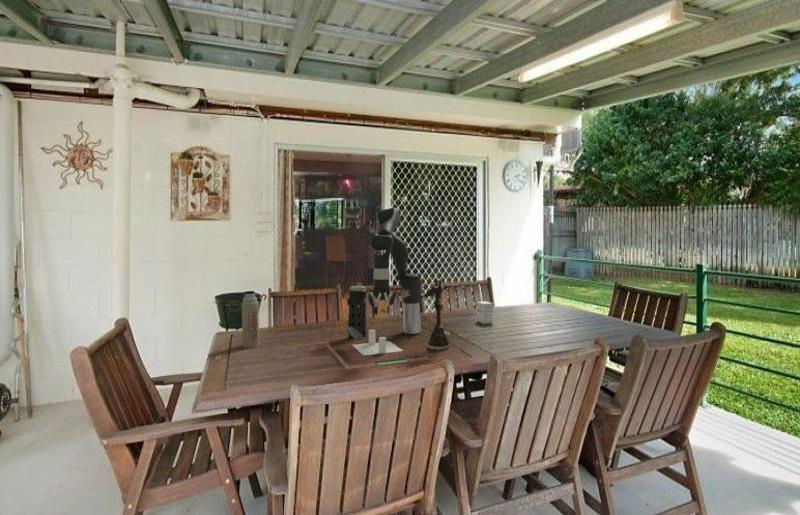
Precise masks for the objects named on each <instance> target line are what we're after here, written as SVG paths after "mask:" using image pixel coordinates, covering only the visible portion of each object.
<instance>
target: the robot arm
mask: <svg viewBox="0 0 800 515" xmlns="http://www.w3.org/2000/svg"><path fill="white" fill-rule="evenodd" d="M376 217H377V220H378V223H379V225H380V226H379V227H378V230H377V231H376V232H375V233H374V234H373V235H372V236H371V238H370V241H369V243H370V247H371V249H372V250H375V251H385V252H384V253H383V254H379V255H376V256H374V257H373V258H374V259H373V260H374V261H373V266H374V267H373V283H372V284H373V287H372V288H373V289H372V291H371V292H367V297H366V298H367V299H368V304H369V305H370V306H372V307H373V315H377V305H378V302H379V301H384V302H387V315H388V314H389V313H390V306H392V305H394V303H395V302H394V301H395V298H396V295H397V293H396V292H394V291H392V290H390V287H391V286H390V285H391V284H390V283H391V282H390V278H391V275H390V274H391V273H390V271H391V270H390V257H391V258H392V260H393V263H394V267H395V269H396V274H397V276H398V280H399V285H400V287H401V288H402V290H404V291H410V293H409V295H407V296H404V297H403V300H402V303H403V304H402V308H403V309H402V312H403V314H402V323H403V325H402V332H403V333H404V334H407V335H408V334H409V335H416V334H420V333H421V331H422V330H421V329H422V328H421V321H422V318H421V315H420V299H421V294H422V293H421V288H422V278H421V277H420V275H419V274H413V273H411V274H410V273H408V271H407V263H408V260H409V256H410V255H409V251H408V247H407V244H406V243H405V241H404V240H402V239H401V238H400V237H399V236H398V235H396V234H395V233H394V231H395V229H396V228H397V227H398V226H399V224H400V222H401V215H400V212H399V210H398V208H396V207H389V208H386V209H381V210H379V211H378V212H377V216H376ZM373 296H374V302H373ZM389 296H390V298H389V299H388V297H389Z"/></svg>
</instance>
